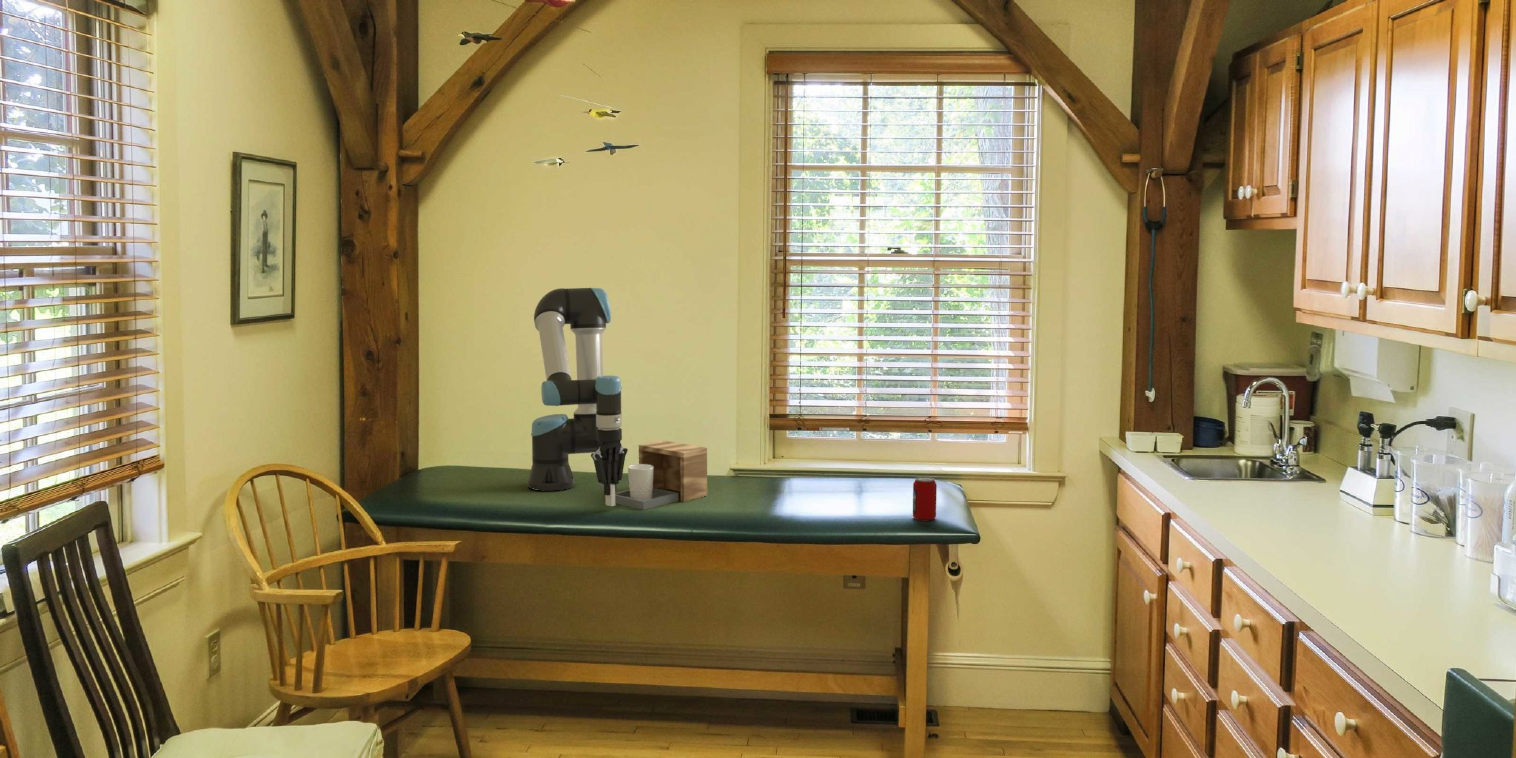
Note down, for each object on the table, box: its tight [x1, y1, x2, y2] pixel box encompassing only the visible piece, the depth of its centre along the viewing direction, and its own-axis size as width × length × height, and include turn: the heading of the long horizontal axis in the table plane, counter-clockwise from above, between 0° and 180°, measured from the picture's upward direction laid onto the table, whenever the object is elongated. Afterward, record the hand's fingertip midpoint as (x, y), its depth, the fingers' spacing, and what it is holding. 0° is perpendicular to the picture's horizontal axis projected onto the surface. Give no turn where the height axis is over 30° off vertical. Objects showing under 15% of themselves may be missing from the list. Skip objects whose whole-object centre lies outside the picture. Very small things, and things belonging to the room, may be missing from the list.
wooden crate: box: [638, 439, 708, 503], centre depth 367 cm, size 20×10×16 cm, turn 50°
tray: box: [615, 488, 679, 510], centre depth 358 cm, size 15×15×2 cm
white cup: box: [627, 463, 654, 501], centre depth 357 cm, size 8×8×10 cm
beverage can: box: [912, 476, 938, 522], centre depth 336 cm, size 7×7×12 cm
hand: (610, 505), depth 347 cm, fingers closed
